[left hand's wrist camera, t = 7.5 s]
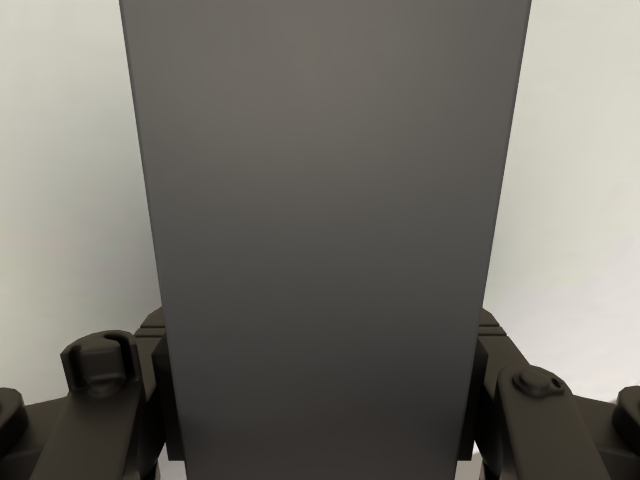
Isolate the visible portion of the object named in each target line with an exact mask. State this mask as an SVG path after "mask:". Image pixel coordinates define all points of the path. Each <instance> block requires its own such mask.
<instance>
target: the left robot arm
mask: <svg viewBox="0 0 640 480" xmlns="http://www.w3.org/2000/svg"><path fill="white" fill-rule="evenodd" d="M60 356H61V360H62V364H63V368H64V372H65V376H66V380H67V384H68V387H69V393H68V395H67V397H63V398H59V399H55V400H51V401H46V402H41V403H36V404H32V405H27V406H25V405H24V402H23V398H22V395H21V394H20V393H19V392H18V391H17V390H15V389H11V388H0V480H160V471H159V465H158V457H159V455H160V453H161V450H162V448H163V446H164V443H165V442H166V448H167V454H168V460H169V461H184V455H183V448H182V441H181V434H180V427H179V420H178V413H177V406H176V399H175V392H174V385H173V378H172V371H171V364H170V357H169V350H168V342H167V335H166V328H165V321H164V314H163V307H160V308H159V309H157V310H156V311H154V312H153V313H151V314H149V315H148V317H147V318H146V319H145V321H144V322H143V323H142V325H141V326H140V328H139V329H138V330H137V331H136V333H135V334H134V335H132V334H131V333H130V332H125V331H121V330H109V331H102V332H98V333H93V334H90V335H88V336H85V337H83V338H80V339H78V340H76V341H75V342H73V343H72V344H70V345H69V346H67V347H66V348H65V349H64V351H63V352H62V353H61V354H60ZM474 440H475V442H476V444H477V447H478V449H479V451H480V453H481V456H482V458H483V459H482V465H481V471H480V476H479V480H640V386H630V387H625V388H624V389H622V390H621V391H620V392H619V394H618V397H617V400H616V404H612V403H608V402H603V401H598V400H593V399H589V398H584V397H580V396H576V395H573V394H572V392H571V390H570V388H569V387H568V386H567V384H566V383H565V382H564V381H563V380H562V379H560V378H559V377H558V376H556V375H555V374H554V373H552V372H549V371H547V370H545V369H543V368H541V367H537V366H533V365H530V364H529V363H528V361H527V360H526V359H525V357H524V356H523V355H522V353H521V352H520V351H519V350H518V348H517V347H516V346H515V344H514V343H513V342H512V340H511V339H510V338H509V336H507V334H506V332H505V331H504V330H503V329H502V327H500V325H499V323H498V322H497V321H496V319H495V318H494V317H493V315H492V314H491V313H489V312H488V311H486V310H485V309H483V308H482V312H481V318H480V324H479V330H478V336H477V343H476V349H475V355H474V361H473V367H472V374H471V380H470V386H469V392H468V398H467V404H466V411H465V417H464V423H463V429H462V435H461V442H460V448H459V454H458V460H457V461H471V458H472V452H473V446H474Z"/></svg>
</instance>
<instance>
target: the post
mask: <svg viewBox="0 0 640 480" xmlns="http://www.w3.org/2000/svg"><path fill="white" fill-rule="evenodd" d="M531 2H532V0H119V5H120V12H121V19H122V26H123V33H124V40H125V47H126V54H127V61H128V68H129V75H130V82H131V89H132V96H133V103H134V110H135V117H136V124H137V131H138V138H139V145H140V153H141V160H142V167H143V174H144V181H145V188H146V195H147V202H148V209H149V216H150V223H151V230H152V237H153V244H154V251H155V258H156V265H157V272H158V279H159V286H160V293H161V300H162V307H163V314H164V321H165V328H166V335H167V342H168V350H169V357H170V364H171V371H172V378H173V385H174V392H175V399H176V406H177V413H178V420H179V427H180V434H181V441H182V448H183V455H184V462H185V469H186V476H187V480H454V479H455V473H456V466H457V460H458V454H459V448H460V442H461V435H462V429H463V423H464V417H465V411H466V404H467V398H468V392H469V386H470V380H471V374H472V367H473V361H474V355H475V349H476V343H477V336H478V330H479V324H480V318H481V312H482V305H483V299H484V293H485V287H486V281H487V274H488V268H489V262H490V256H491V250H492V243H493V237H494V231H495V225H496V219H497V212H498V206H499V200H500V194H501V188H502V181H503V175H504V169H505V163H506V157H507V150H508V144H509V138H510V132H511V126H512V119H513V113H514V107H515V101H516V95H517V88H518V82H519V76H520V70H521V64H522V57H523V51H524V45H525V39H526V33H527V26H528V20H529V14H530V8H531Z"/></svg>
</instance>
